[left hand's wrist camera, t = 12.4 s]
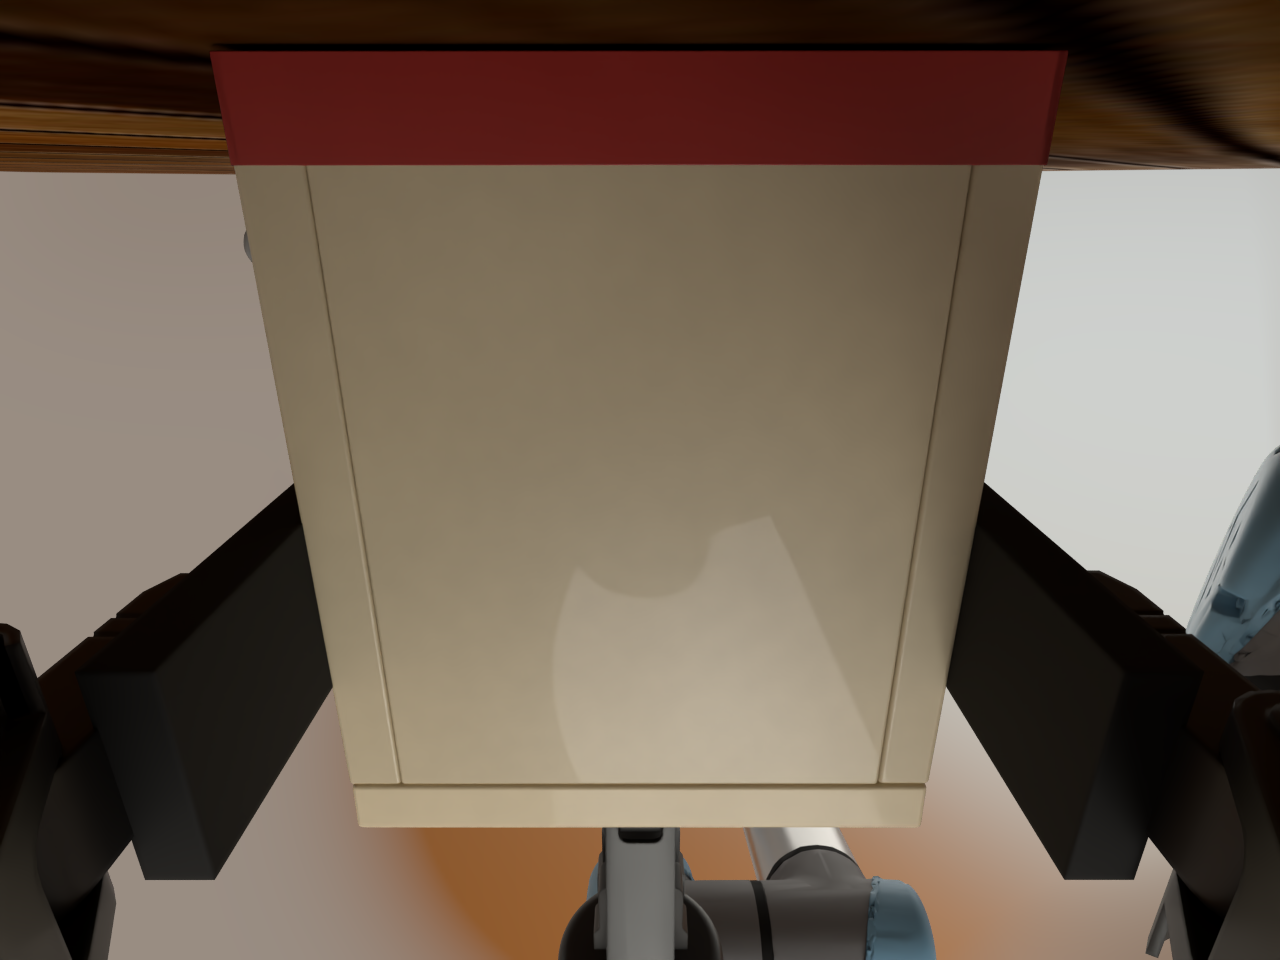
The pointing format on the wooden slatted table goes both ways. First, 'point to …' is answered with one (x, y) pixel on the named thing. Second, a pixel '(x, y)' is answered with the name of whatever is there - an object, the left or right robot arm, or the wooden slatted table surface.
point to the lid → (640, 805)
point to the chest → (639, 393)
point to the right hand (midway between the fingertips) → (641, 559)
